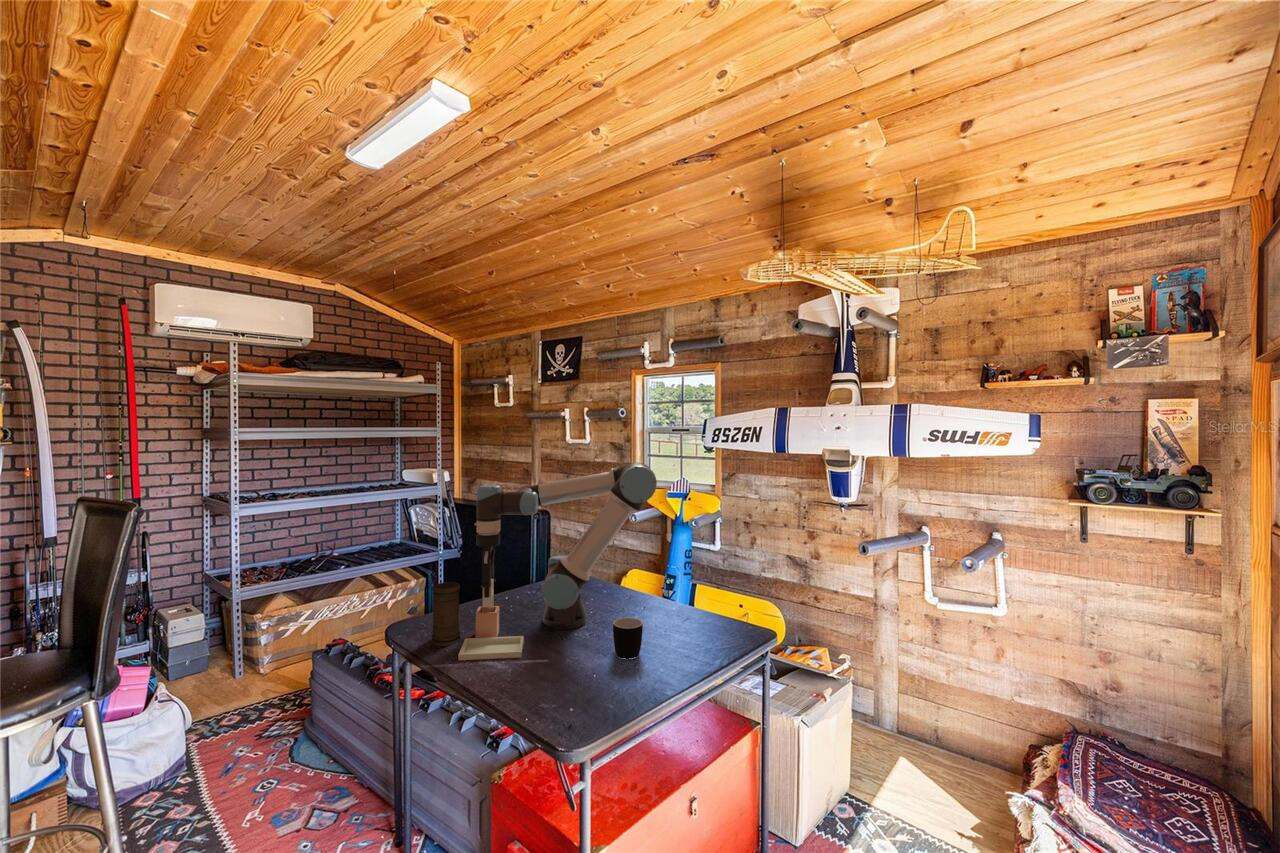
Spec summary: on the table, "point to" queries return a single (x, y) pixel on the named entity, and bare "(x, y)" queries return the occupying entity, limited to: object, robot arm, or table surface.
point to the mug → (627, 637)
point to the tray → (491, 648)
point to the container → (445, 614)
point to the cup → (487, 623)
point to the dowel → (490, 609)
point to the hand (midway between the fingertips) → (487, 604)
